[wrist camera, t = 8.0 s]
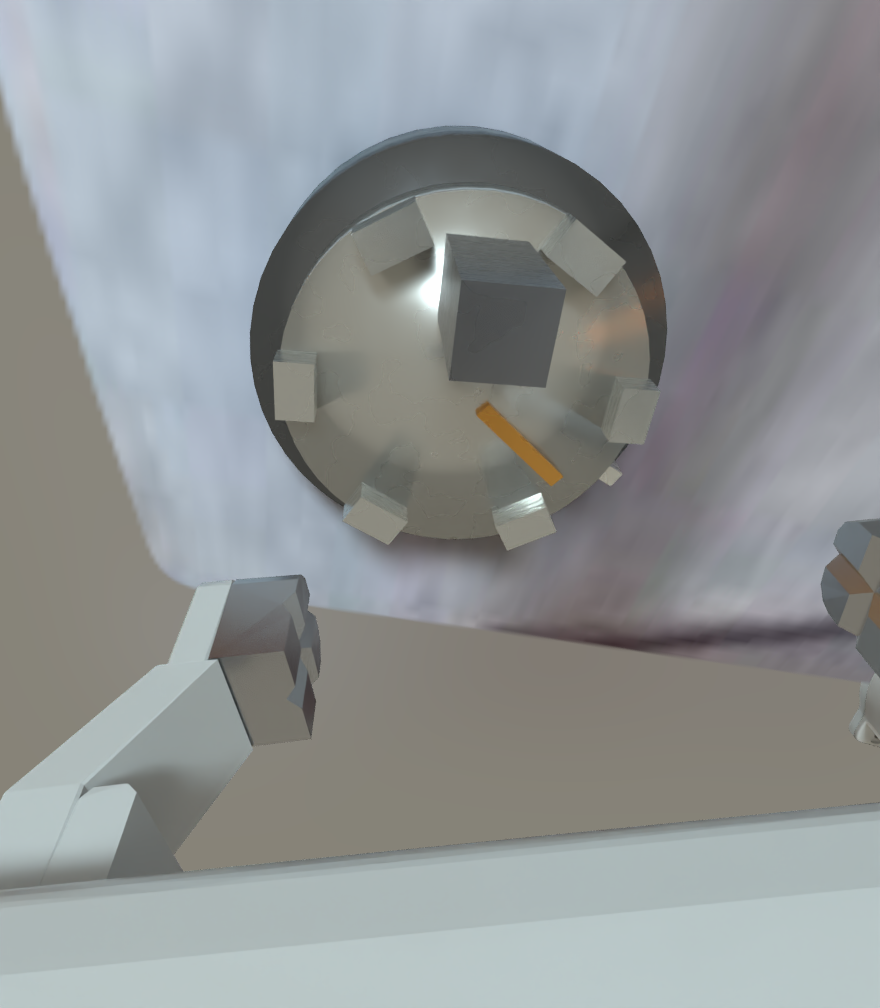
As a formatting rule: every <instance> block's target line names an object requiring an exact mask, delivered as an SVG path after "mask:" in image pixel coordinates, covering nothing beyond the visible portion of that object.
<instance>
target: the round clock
mask: <svg viewBox="0 0 880 1008" xmlns="http://www.w3.org/2000/svg"><path fill="white" fill-rule="evenodd" d="M625 263H626V261H625V260H624V259H623V258H621V257H620V256H619V255H618V254H617V253H616V252H614V251H613V250H612V249H611V248H610V247H609V246H607V245H606V244H605V243H604V242H603V241H602V240H600V239H599V238H598V237H597V236H596V235H595V234H593V233H592V232H591V231H590V230H589V229H588V228H586V227H585V226H584V225H583V224H582V223H581V222H580V221H578V220H577V219H576V218H575V217H574V216H572V215H571V214H570V213H569V212H568V213H566V212H565V211H564V210H562V209H561V208H560V207H558V206H556V205H554V204H552V203H550V202H548V201H546V200H544V199H542V198H540V197H539V196H536V195H533V194H530V193H528V192H525V191H522V190H519V189H516V188H513V187H508V186H502V185H497V184H492V183H483V182H453V183H444V184H435V185H431V186H427V187H423V188H419V189H415V190H411V191H408V192H405V193H403V194H401V195H398V196H396V197H393V198H391V199H389V200H386V201H384V202H382V203H380V204H379V205H377V206H375V207H374V208H372V209H370V210H369V211H367V212H365V213H364V214H362V215H361V216H359V217H358V218H357V219H356V220H354V221H353V222H352V223H351V224H349V225H348V226H347V227H346V228H344V229H343V230H342V231H341V232H340V233H339V234H338V235H337V236H336V237H335V238H334V239H333V240H332V241H331V242H330V244H329V245H328V246H327V247H326V248H325V249H324V250H323V251H322V253H321V254H320V256H319V257H318V259H317V260H316V261H315V263H314V264H313V266H312V267H311V269H310V270H309V272H308V274H307V276H306V278H305V280H304V282H303V284H302V286H301V288H300V290H299V292H298V294H297V296H296V299H295V301H294V304H293V306H292V309H291V312H290V315H289V318H288V320H287V323H286V326H285V329H284V333H283V339H282V344H281V350H277V352H276V355H275V357H274V360H273V379H274V405H275V420H285V421H286V424H287V426H288V428H289V431H290V433H291V436H292V438H293V441H294V443H295V445H296V447H297V449H298V450H299V452H300V454H301V456H302V457H303V459H304V461H305V463H306V464H307V465H308V466H309V468H310V469H311V470H312V472H313V473H314V474H315V476H316V477H317V478H318V479H319V481H320V482H321V483H322V484H323V485H324V486H325V487H326V488H327V489H328V490H329V491H330V492H331V493H332V494H333V495H335V496H336V497H337V498H339V499H340V500H341V501H342V502H344V503H345V505H344V511H343V522H345V523H347V524H349V525H351V526H353V527H355V528H357V529H358V530H360V531H362V532H364V533H366V534H368V535H370V536H372V537H374V538H376V539H378V540H380V541H381V542H383V543H385V544H387V545H389V544H390V543H391V542H392V541H393V539H394V538H395V537H396V536H397V535H398V533H399V532H400V531H401V532H404V533H409V534H413V535H418V536H423V537H430V538H440V539H471V538H480V537H488V536H493V535H497V534H499V535H500V537H501V539H502V541H503V543H504V545H505V547H506V550H507V551H508V550H510V549H513V548H516V547H518V546H521V545H524V544H526V543H529V542H532V541H534V540H537V539H539V538H542V537H545V536H547V535H550V534H553V533H555V532H557V531H556V529H555V526H554V523H553V520H552V517H551V514H553V513H555V512H556V511H558V510H560V509H562V508H563V507H565V506H566V505H568V504H569V503H571V502H572V501H573V500H575V499H576V498H577V497H579V496H580V495H581V494H583V493H584V492H585V491H586V490H587V489H588V488H589V487H590V486H591V485H593V484H594V483H595V482H596V481H597V480H598V479H599V478H600V477H601V475H602V474H603V473H604V472H605V471H606V470H607V469H608V467H609V466H610V465H611V464H612V463H613V461H614V460H615V458H616V457H617V455H618V454H619V453H620V451H621V450H622V448H623V447H624V445H625V443H628V444H644V441H645V438H646V435H647V432H648V429H649V426H650V423H651V420H652V416H653V413H654V410H655V407H656V404H657V401H658V398H659V395H660V390H659V389H658V388H657V386H656V385H655V384H654V383H653V381H652V380H651V379H648V374H649V364H650V356H649V337H648V331H647V326H646V320H645V315H644V312H643V309H642V306H641V304H640V301H639V298H638V295H637V292H636V290H635V288H634V286H633V285H632V283H631V281H630V279H629V277H628V275H627V273H626V271H625V270H624V268H623V267H622V266H623V265H624V264H625Z"/></svg>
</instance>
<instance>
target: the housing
mask: <svg viewBox="0 0 880 1008" xmlns="http://www.w3.org/2000/svg"><path fill="white" fill-rule="evenodd" d="M453 182H483V183H492V184H497V185H502V186H508V187H513V188H516V189H519V190H522V191H525V192H528V193H530V194H533V195H536V196H539V197H540V198H542V199H544V200H546V201H548V202H550V203H552V204H554V205H556V206H558V207H560V208H561V209H562V210H564V211H565V212H566V213H568V212H569V213H570V214H571V215H572V216H574V217H575V218H576V219H577V220H578V221H580V222H581V223H582V224H583V225H584V226H585V227H586V228H588V229H589V230H590V231H591V232H592V233H593V234H595V235H596V236H597V237H598V238H599V239H600V240H602V241H603V242H604V243H605V244H606V245H607V246H609V247H610V248H611V249H612V250H613V251H614V252H616V253H617V254H618V255H619V256H620V257H621V258H623V259H624V260H625V261H626V263H625V264H624V265H623V266H622V267H623V268H624V270H625V271H626V273H627V275H628V277H629V279H630V281H631V283H632V285H633V286H634V288H635V290H636V292H637V295H638V298H639V301H640V304H641V306H642V309H643V312H644V315H645V320H646V326H647V331H648V337H649V356H650V364H649V374H648V379H651V380H652V381H653V383H654V384H655V385H656V386H658V383H659V380H660V375H661V371H662V366H663V362H664V357H665V347H666V335H667V321H666V303H665V298H664V293H663V288H662V282H661V277H660V274H659V271H658V269H657V266H656V263H655V260H654V257H653V254H652V251H651V249H650V247H649V246H648V244H647V242H646V240H645V238H644V236H643V234H642V232H641V230H640V228H639V227H638V225H637V224H636V222H635V221H634V220H633V218H632V217H631V216H630V214H629V213H628V211H627V210H626V209H625V207H624V206H623V205H622V203H621V202H620V201H619V200H618V199H617V198H616V197H615V196H614V195H613V194H612V193H611V192H610V191H609V190H608V189H607V188H606V187H605V186H604V185H603V184H602V183H601V182H600V181H598V180H597V179H595V178H594V177H593V176H591V175H590V174H588V173H587V172H586V171H584V170H583V169H581V168H580V167H579V166H577V165H576V164H574V163H572V162H571V161H569V160H567V159H565V158H563V157H561V156H559V155H557V154H556V153H554V152H552V151H550V150H548V149H546V148H544V147H542V146H540V145H538V144H536V143H534V142H532V141H530V140H528V139H525V138H522V137H519V136H516V135H513V134H510V133H507V132H504V131H500V130H494V129H488V128H481V127H475V126H441V127H434V128H427V129H420V130H415V131H412V132H408V133H405V134H401V135H398V136H395V137H391V138H388V139H386V140H384V141H382V142H380V143H378V144H376V145H374V146H371V147H369V148H367V149H365V150H363V151H361V152H360V153H358V154H357V155H355V156H354V157H352V158H351V159H349V160H348V161H346V162H345V163H343V164H342V165H340V166H339V167H338V168H337V169H336V170H335V171H333V172H332V173H331V174H330V175H329V176H328V177H327V178H326V179H325V180H323V181H322V182H321V183H320V184H319V185H318V186H317V187H316V189H315V190H314V191H313V192H312V193H311V195H310V196H309V197H308V198H307V199H306V201H305V202H304V203H303V204H302V205H301V207H300V208H299V210H298V211H297V213H296V214H295V216H294V217H293V219H292V221H291V222H290V224H289V225H288V227H287V228H286V230H285V232H284V233H283V235H282V237H281V238H280V240H279V241H278V243H277V245H276V246H275V248H274V249H273V251H272V254H271V256H270V258H269V260H268V263H267V265H266V267H265V270H264V272H263V274H262V277H261V280H260V283H259V287H258V291H257V294H256V298H255V302H254V305H253V314H252V322H251V330H250V355H251V366H252V372H253V378H254V385H255V388H256V392H257V395H258V398H259V402H260V405H261V408H262V411H263V413H264V415H265V418H266V420H267V422H268V424H269V426H270V429H271V431H272V433H273V435H274V436H275V438H276V439H277V441H278V443H279V444H280V446H281V447H282V449H283V451H284V452H285V454H286V455H287V456H288V457H289V459H290V460H291V461H292V462H293V463H294V465H295V466H296V467H297V468H298V470H299V471H300V472H301V473H302V474H303V475H304V476H305V477H306V478H307V479H308V480H309V481H310V482H312V483H313V484H314V485H315V486H316V487H317V488H318V489H319V490H321V491H322V492H323V493H325V494H326V495H327V496H329V497H330V498H331V499H333V500H334V501H335V502H337V503H339V504H340V505H342V506H344V505H345V503H344V502H342V501H341V500H340V499H339V498H337V497H336V496H335V495H333V494H332V493H331V492H330V491H329V490H328V489H327V488H326V487H325V486H324V485H323V484H322V483H321V482H320V481H319V479H318V478H317V477H316V476H315V474H314V473H313V472H312V470H311V469H310V468H309V466H308V465H307V464H306V463H305V461H304V459H303V457H302V456H301V454H300V452H299V450H298V449H297V447H296V445H295V443H294V441H293V438H292V436H291V433H290V431H289V428H288V426H287V424H286V421H285V420H275V405H274V379H273V360H274V357H275V355H276V352H277V350H281V344H282V339H283V333H284V329H285V326H286V323H287V320H288V318H289V315H290V312H291V309H292V306H293V304H294V301H295V299H296V296H297V294H298V292H299V290H300V288H301V286H302V284H303V282H304V280H305V278H306V276H307V274H308V272H309V270H310V269H311V267H312V266H313V264H314V263H315V261H316V260H317V259H318V257H319V256H320V254H321V253H322V251H323V250H324V249H325V248H326V247H327V246H328V245H329V244H330V242H331V241H332V240H333V239H334V238H335V237H336V236H337V235H338V234H339V233H340V232H341V231H342V230H343V229H344V228H346V227H347V226H348V225H349V224H351V223H352V222H353V221H354V220H356V219H357V218H358V217H359V216H361V215H362V214H364V213H365V212H367V211H369V210H370V209H372V208H374V207H375V206H377V205H379V204H380V203H382V202H384V201H386V200H389V199H391V198H393V197H396V196H398V195H401V194H403V193H405V192H408V191H411V190H415V189H419V188H423V187H427V186H431V185H435V184H444V183H453ZM627 445H628V443H625V445H624V447H623V448H622V450H621V451H620V453H619V454H618V455H617V457H616V458H615V460H616V459H617V458H618V456H619V455H620V454H621V453H622V452H623V450H624V449H625V448H626V447H627ZM615 460H614V461H613V463H612V464H611V465H610V466H609V467H608V469H607V470H606V471H605V472H604V473H603V474H602V475H601V477H600V478H599V479H600V480H601V481H603V482H605V483H606V484H608V485H609V486H612V485H613V483H614V482H615V481H616V480H617V479H618V478H619V477H620V476H621V475H622V472H621V471H620V469H619V467H618V465H617V463H616V462H615Z"/></svg>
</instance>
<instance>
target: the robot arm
mask: <svg viewBox="0 0 880 1008" xmlns="http://www.w3.org/2000/svg"><path fill="white" fill-rule="evenodd" d="M833 544H834V546H835V547H836V549H837V551H838V552H839V555H838V556H837V557H835V558H834V559H833V560H832V561H831V562H830V563H829V564H828V565H827V566H826V567H825V570H824V574H823V577H822V581H821V590H822V598H823V602H824V605H825V607H826V609H827V611H828V614H829V615H830V616H831V617H832V619H833V620H834V621H835V623H836V624H837V625H838V626H839V627H841V628H843V629H845V630H847V631H849V632H850V633H852V634H854V635H856V636H857V639H856V649H857V651H858V652H859V653H860V654H861V655H862V657H863V658H864V659H865V660H866V662H867V663H868V664H869V665H870V667H871V668H872V669H873V670H874V672H875V674H874V676H873V677H872V679H871V681H870V683H863V682H861V684H860V691H859V697H860V705H859V709H858V711H857V712H856V713H855V715H854V717H853V718H852V720H851V722H850V724H849V731H850V733H851V734H852V735H853V736H854V737H855V738H856V739H857V740H858V741H859V742H862V743H866V744H869V745H873V746H877V747H880V518H877V519H867V520H858V521H848V522H845V523H844V524H843V525H842V526H841V527H840V529H839V530H838V532H837V534H836V537H835V540H834V543H833ZM309 597H310V593H309V590H308V587H307V583H306V580H305V578H304V577H303V576H302V575H289V576H276V577H263V578H249V579H237V580H236V581H235V580H229V581H217V582H204V583H202V584H201V585H200V586H199V587H198V588H197V589H196V591H195V594H194V596H193V599H192V602H191V604H190V606H189V609H188V612H187V614H186V617H185V619H184V622H183V625H182V627H181V630H180V633H179V635H178V637H177V640H176V643H175V645H174V648H173V651H172V653H171V656H170V658H169V661H168V663H167V664H165V665H157V666H156V667H155V668H153V669H152V670H151V671H150V672H148V673H147V674H146V675H145V676H144V677H142V678H141V679H140V680H139V681H138V682H137V683H135V684H134V685H133V686H132V687H130V688H129V689H128V690H127V691H126V692H124V693H123V694H122V695H121V696H120V697H119V698H117V699H116V700H115V701H114V702H113V703H111V704H110V705H109V706H108V707H107V708H105V709H104V710H103V711H102V712H101V713H99V714H98V715H97V716H96V717H95V718H93V719H92V720H91V721H90V722H89V723H88V724H86V725H85V726H84V727H83V728H82V729H80V730H79V731H78V732H77V733H76V734H74V735H73V736H72V737H71V738H70V739H68V740H67V741H66V742H65V743H64V744H62V745H61V746H60V747H59V748H58V749H56V750H55V751H54V752H53V753H52V754H50V755H49V756H48V757H47V758H46V759H45V760H43V761H42V762H41V763H40V764H38V765H37V766H36V767H35V768H34V769H32V770H31V771H30V772H29V773H28V774H26V775H25V776H24V777H23V778H22V779H21V780H20V781H18V782H17V783H16V784H15V785H13V786H12V787H11V788H10V789H9V790H7V791H6V792H5V793H4V795H3V797H2V799H1V801H0V1008H880V802H878V803H868V804H859V805H848V806H838V807H828V808H819V809H809V810H799V811H790V812H779V813H769V814H759V815H749V816H740V817H729V818H719V819H708V820H699V821H688V822H679V823H668V824H658V825H648V826H638V827H627V828H617V829H607V830H597V831H587V832H577V833H567V834H556V835H547V836H536V837H526V838H516V839H507V840H496V841H486V842H476V843H466V844H457V845H446V846H436V847H426V848H417V849H406V850H397V851H387V852H376V853H366V854H356V855H346V856H336V857H326V858H316V859H306V860H296V861H286V862H275V863H265V864H255V865H246V866H235V867H226V868H215V869H205V870H195V871H185V872H183V870H182V868H181V867H180V865H179V863H178V862H177V860H176V858H175V856H174V854H175V853H176V851H177V850H178V849H179V847H180V846H181V845H182V843H183V842H184V841H185V839H186V838H187V837H188V835H189V834H190V833H191V831H192V830H193V829H194V827H195V826H196V825H197V823H198V822H199V821H200V819H201V818H202V817H203V815H204V814H205V813H206V812H207V810H208V809H209V807H210V806H211V805H212V804H213V802H214V801H215V800H216V798H217V797H218V796H219V794H220V793H221V791H222V790H223V789H224V788H225V786H226V785H227V784H228V782H229V781H230V780H231V778H232V777H233V776H234V774H235V773H236V772H237V770H238V769H239V768H240V766H241V765H242V763H243V762H244V761H245V760H246V758H247V757H248V756H249V754H250V753H251V752H252V750H253V749H252V746H259V745H268V744H275V743H283V742H291V741H299V740H307V739H311V735H312V727H313V720H314V712H315V704H316V699H315V696H314V692H313V688H312V684H313V683H314V682H315V681H316V680H317V679H318V677H319V672H320V662H321V657H320V637H319V630H318V625H317V621H316V617H315V616H314V615H313V614H312V613H310V612H309V611H308V604H309Z"/></svg>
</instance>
